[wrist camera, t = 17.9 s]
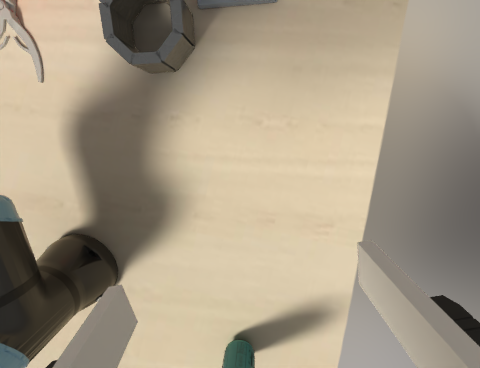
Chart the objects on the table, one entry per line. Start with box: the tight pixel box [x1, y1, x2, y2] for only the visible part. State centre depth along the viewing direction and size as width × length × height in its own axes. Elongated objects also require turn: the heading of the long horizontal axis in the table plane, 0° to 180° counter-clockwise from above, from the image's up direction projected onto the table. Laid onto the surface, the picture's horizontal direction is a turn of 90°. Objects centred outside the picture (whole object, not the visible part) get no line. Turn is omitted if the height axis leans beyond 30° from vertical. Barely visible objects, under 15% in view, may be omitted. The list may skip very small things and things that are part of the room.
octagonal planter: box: [99, 0, 195, 73], centre depth 36 cm, size 12×12×6 cm
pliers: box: [0, 0, 43, 83], centre depth 40 cm, size 10×2×15 cm
